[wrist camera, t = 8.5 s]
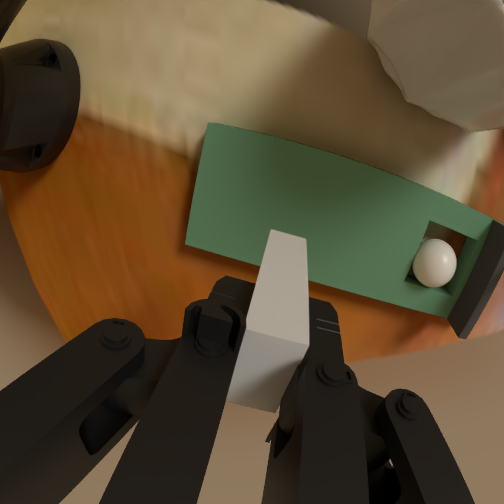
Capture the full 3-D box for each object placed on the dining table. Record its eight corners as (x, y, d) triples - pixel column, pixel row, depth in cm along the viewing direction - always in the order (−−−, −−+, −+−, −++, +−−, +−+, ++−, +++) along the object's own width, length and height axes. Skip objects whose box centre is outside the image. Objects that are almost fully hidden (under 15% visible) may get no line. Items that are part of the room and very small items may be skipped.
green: (193, 236, 27) (123, 307, 16) (215, 123, 23) (140, 119, 12) (464, 314, 25) (513, 395, 14) (505, 225, 21) (584, 281, 10)
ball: (397, 275, 23) (435, 301, 20) (416, 231, 21) (457, 255, 18) (415, 269, 25) (448, 291, 23) (431, 229, 24) (468, 250, 21)
